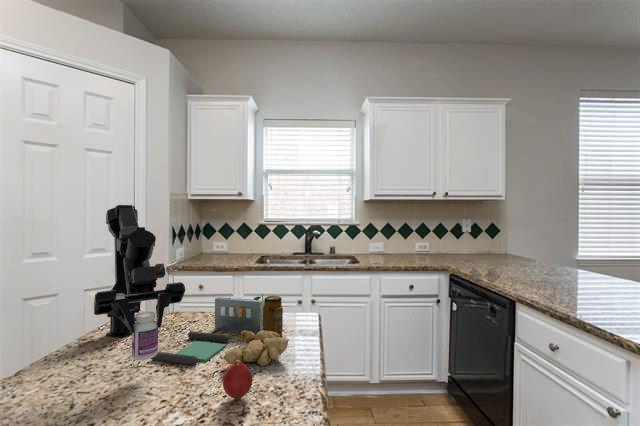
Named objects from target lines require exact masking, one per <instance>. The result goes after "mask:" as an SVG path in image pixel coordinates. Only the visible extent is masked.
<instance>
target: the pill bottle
mask: <svg viewBox="0 0 640 426" xmlns="http://www.w3.org/2000/svg"><path fill="white" fill-rule="evenodd" d="M155 319H156V312H153V311H145V312H139V313H136V314H135V324H134V333H131V358H132V359H133V360H135V361H138V362H139V361H147V360H151V358H153V357H155V356H156V355H157V353H158V352H159V328H158V323H157V320H155Z"/></svg>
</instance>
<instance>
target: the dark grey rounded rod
mask: <svg viewBox="0 0 640 426" xmlns="http://www.w3.org/2000/svg"><path fill="white" fill-rule="evenodd" d="M150 360H154V361H161V362H168V363H175V364H183V365H190V366H195V365H197V364H198V363H199V361H198V358H197V357H196V356H189V355H181V354H175V353H173V352H164V351H158V353H157V355H156V356H155V357H153V358H150Z"/></svg>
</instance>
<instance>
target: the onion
mask: <svg viewBox="0 0 640 426" xmlns="http://www.w3.org/2000/svg"><path fill="white" fill-rule="evenodd" d="M234 363H235V364H231V366H229V368H227V370H226V372H225V374H224V376H223V379H222V386H223V387H222V388H223V390H224V392H225V394H226V395H227V396H228V397H231V398H232V399H233V400H235V401H239V400H241V399H242V398H243V397H244V396H245V395H247V394H248V393H249V392H250V390H251V388H252V385H253V375H252V372H251V370H250V368H249V367H248V366H247V364H244V362H242V363H241V361H240V360H236V361H235V362H234Z"/></svg>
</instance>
